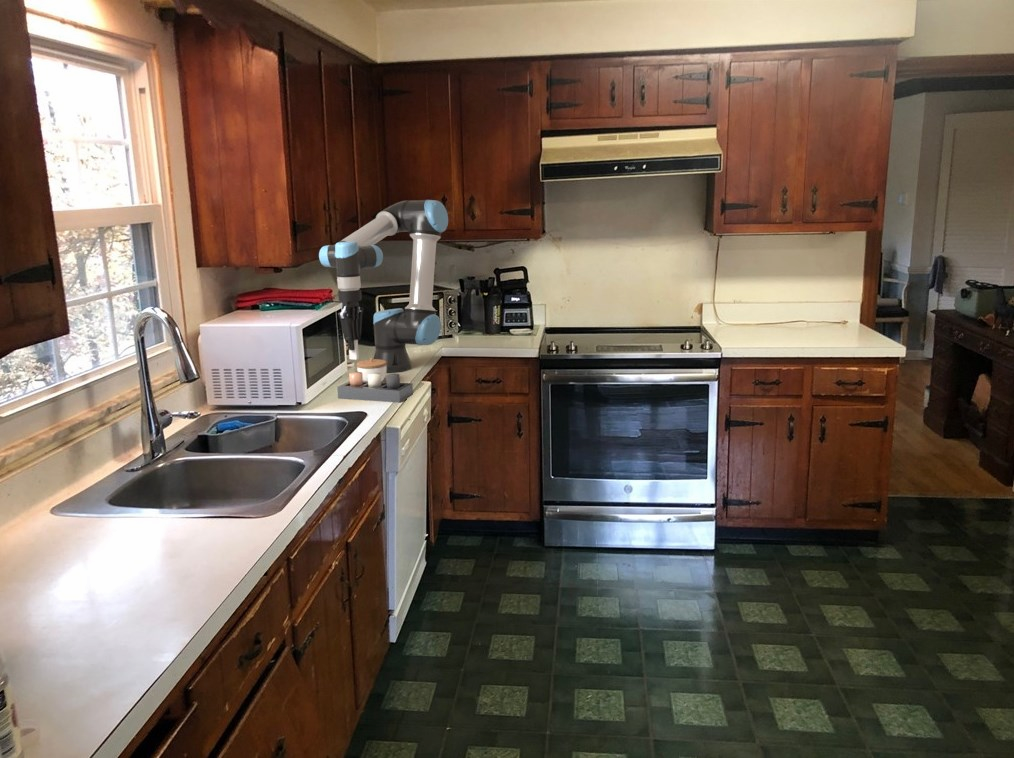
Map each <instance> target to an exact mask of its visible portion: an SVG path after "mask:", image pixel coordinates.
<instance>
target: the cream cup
mask: <svg viewBox="0 0 1014 758" xmlns="http://www.w3.org/2000/svg"><path fill="white" fill-rule="evenodd" d="M381 386H382V385H381V374H380V373H370V374H368V387H374V388H379V387H381Z"/></svg>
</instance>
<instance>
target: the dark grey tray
mask: <svg viewBox="0 0 1014 758" xmlns="http://www.w3.org/2000/svg"><path fill="white" fill-rule="evenodd" d="M381 385H382V386H381V387H379V388H374V387H368V381H363V385H362V386H360V387H358V386H350V380H349V381H347V382H344V383H343V384H340V385H338V386H336V387H337V398H338V399H342V400H359V401H369V402H370V401H374V402H375V401H376V402H384V403H385V402H388V403H401V402H403V401H405V400H407V399H408V398H410V397H412V396H413V394H414V392H413V391H414V390H413V383H408V382H400V388H399V389H390V388H387V381H382V382H381Z"/></svg>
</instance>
